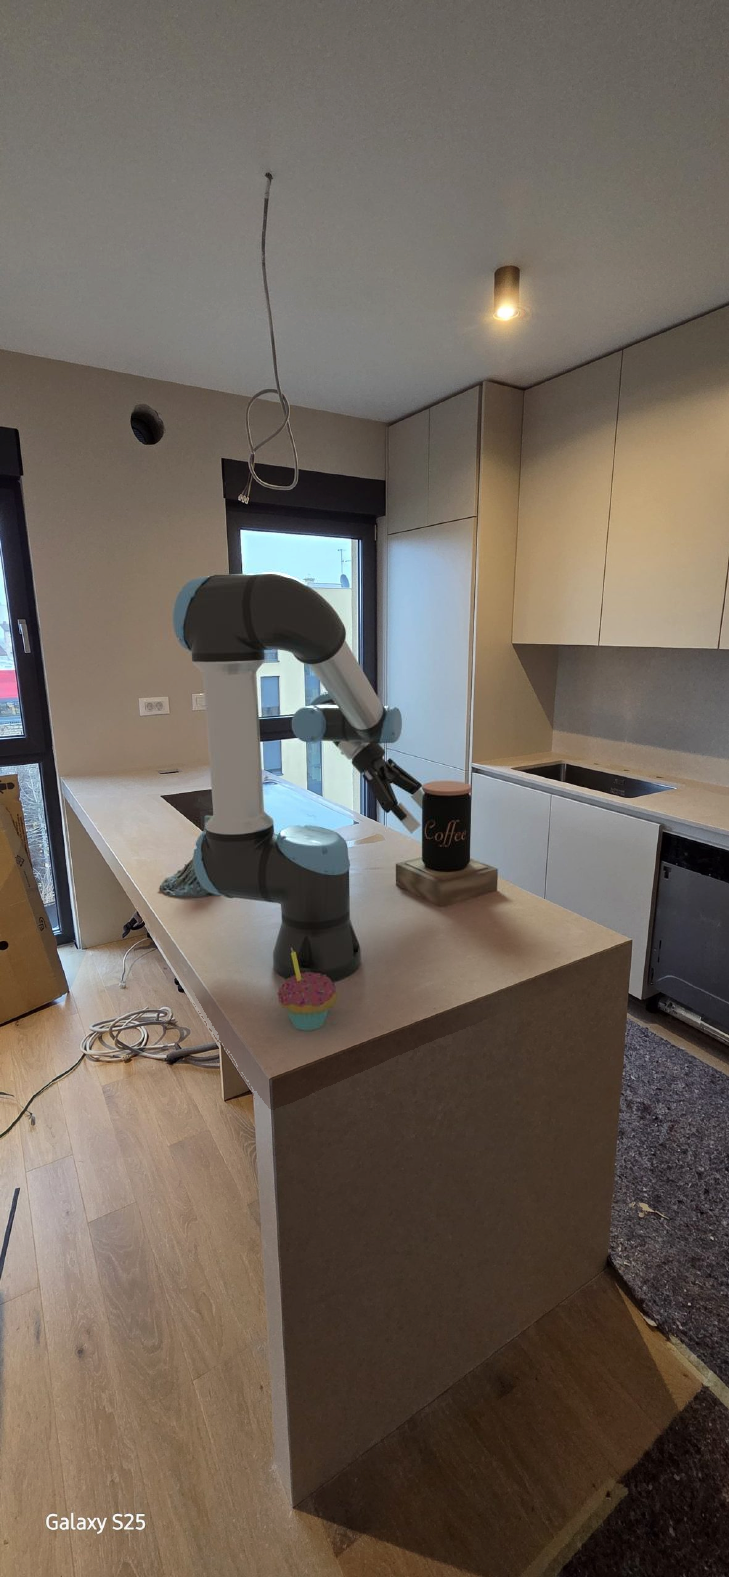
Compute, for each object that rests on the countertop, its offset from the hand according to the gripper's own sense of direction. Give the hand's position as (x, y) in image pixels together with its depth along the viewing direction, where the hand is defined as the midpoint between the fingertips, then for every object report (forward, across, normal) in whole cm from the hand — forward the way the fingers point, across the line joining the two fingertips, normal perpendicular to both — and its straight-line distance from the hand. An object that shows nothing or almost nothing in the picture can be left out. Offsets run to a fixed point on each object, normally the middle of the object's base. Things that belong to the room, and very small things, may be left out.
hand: (425, 821), depth 146 cm
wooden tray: (+14, 0, -7) cm, 16 cm away
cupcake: (+11, +58, -11) cm, 60 cm away
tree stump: (-23, +15, -45) cm, 53 cm away
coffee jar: (+10, 0, -4) cm, 11 cm away
